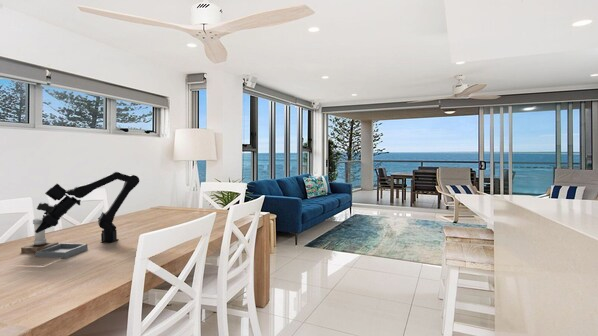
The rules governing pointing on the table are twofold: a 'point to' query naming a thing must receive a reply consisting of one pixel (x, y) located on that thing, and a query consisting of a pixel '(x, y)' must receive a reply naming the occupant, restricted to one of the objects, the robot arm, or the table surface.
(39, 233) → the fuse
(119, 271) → the table surface
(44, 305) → the table surface
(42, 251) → the parts tray
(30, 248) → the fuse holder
